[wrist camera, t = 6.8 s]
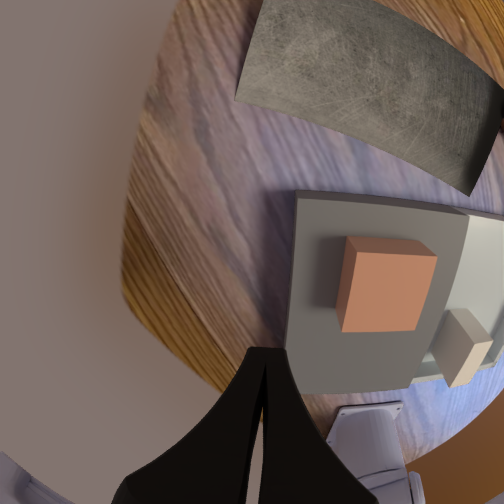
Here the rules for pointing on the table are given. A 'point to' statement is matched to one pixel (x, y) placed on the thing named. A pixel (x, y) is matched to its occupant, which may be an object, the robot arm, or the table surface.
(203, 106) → the table surface
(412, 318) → the tile terracotta
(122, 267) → the table surface
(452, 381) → the tile white
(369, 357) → the board
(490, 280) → the tray
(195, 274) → the table surface
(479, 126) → the meat cleaver
